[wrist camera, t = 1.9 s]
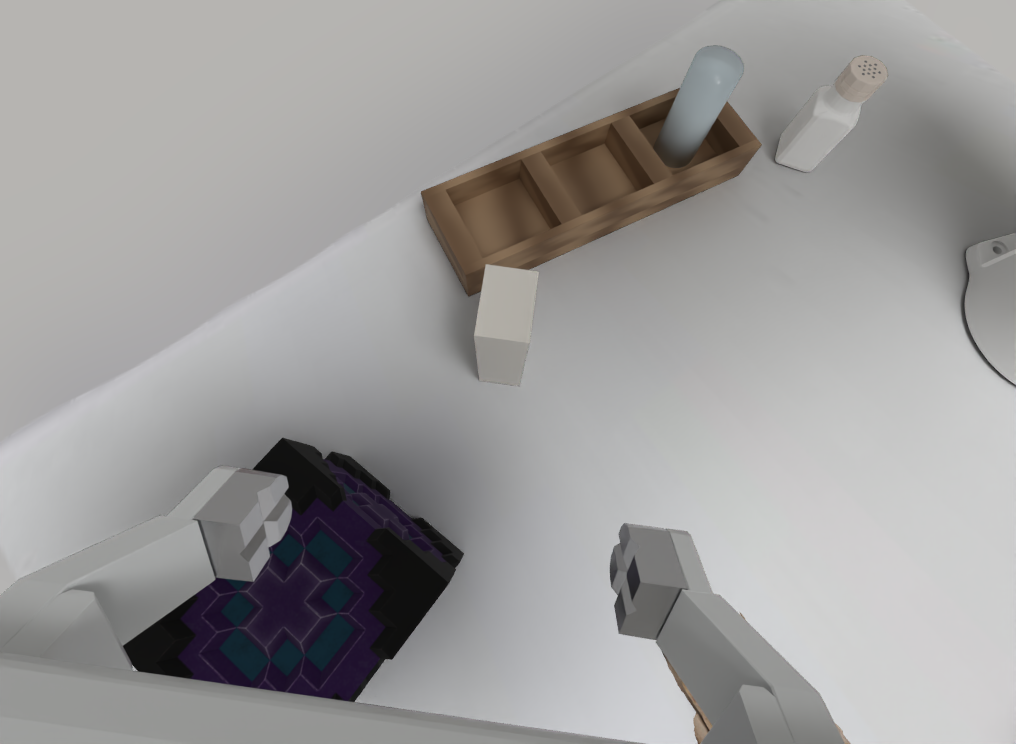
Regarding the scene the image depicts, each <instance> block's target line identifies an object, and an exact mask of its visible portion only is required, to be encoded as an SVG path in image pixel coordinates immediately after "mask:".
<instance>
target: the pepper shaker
mask: <svg viewBox="0 0 1016 744" xmlns="http://www.w3.org/2000/svg"><path fill="white" fill-rule="evenodd" d="M887 77H888V72H887V68H886V67H885V65H884V64H883V63H882V62H881V61H880V60H878V59H876V58H874V57H872V56H864V55H862V56H859V57H856V58H854V59H853V60H852V61H851V62H850V63H849V65H848V66H847V67H846V68H845V70H844V71H843V72H842V73H841V74H840V76H839V77H838V78H837V79H836V80H835V82H834V84H833V85H832V86H829V85H826V86H822V87H819V88H818V89H817V90H816V92H815V93H814V94H813V95H812V97H811V98H810V99H809V100H808V102H807V103H806V104H805V105H804V107H803V108H802V109H801V110H800V112H799V113H798V114H797V115H796V117H795V118H794V119H793V120H792V122H791V123H790V124H789V125H788V127H787V128H786V129H785V130H784V132H783V133H782V134H781V137H780V141H779V145H778V149H777V153H776V157H775V161H776V162H777V163H779V164H782V165H785V166H788V167H791V168H794V169H797V170H800V171H803V172H810V171H812V170H813V169H814V168H815V167H816V166H817V165H818V164H819V163H820V162H821V161H822V160H823V159H824V158H825V157H826V155H827V154H828V153H829V152H830V151H831V150H832V149H833V148H834V147H835V146H836V145H837V144H838V143H839V142H840V141H841V140H842V139H843V138H844V137H845V136H846V135H847V134H848V133H849V132H850V131H851V130H852V129H853V128H854V127H855V126H856V124H857V121H858V119H859V115H860V111H861V105H862V104H863V103H864V102H866V101H867V100H868V99H869V98H870V97H871V96H872V94H874V93H875V91H876V90H877V89H878V88H879V87H880V86H881V85H882V84H883V83H884V82H885V80H886V78H887Z"/></svg>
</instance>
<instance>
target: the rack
mask: <svg viewBox="0 0 1016 744" xmlns="http://www.w3.org/2000/svg"><path fill="white" fill-rule="evenodd" d="M679 90H680V88H678V89H676V90H673V91H671V92H668V93H666V94H663V95H661V96H658V97H656V98H653V99H651V100H648V101H646V102H643V103H641V104H638V105H636V106H633V107H631V108H628V109H626V110H623V111H621V112H618V113H616V114H613V115H611V116H608V117H606V118H603V119H601V120H598V121H596V122H593V123H591V124H588V125H586V126H583V127H581V128H578V129H576V130H573V131H571V132H568V133H566V134H563V135H561V136H558V137H556V138H553V139H551V140H549V141H546V142H544V143H541V144H539V145H536V146H534V147H531V148H529V149H526V150H524V151H521V152H519V153H516V154H514V155H511V156H509V157H506V158H504V159H501V160H499V161H496V162H494V163H491V164H489V165H486V166H484V167H481V168H479V169H476V170H474V171H471V172H469V173H466V174H464V175H461V176H459V177H456V178H454V179H451V180H449V181H446V182H444V183H441V184H439V185H436V186H434V187H431V188H429V189H426V190H424V191H421V195H422V199H423V203H424V208H425V212H426V216H427V220H428V222H429V224H430V226H431V227H432V229H433V231H434V233H435V235H436V237H437V239H438V241H439V242H440V244H441V246H442V248H443V250H444V252H445V254H446V256H447V257H448V259H449V261H450V263H451V265H452V267H453V269H454V271H455V272H456V274H457V276H458V278H459V280H460V282H461V284H462V286H463V287H464V289H465V291H466V293H467V295H468V297H469V296H471V295H473V294H476V293H478V292H480V291H481V290H482V284H483V278H484V272H485V266H486V264H488V265H495V266H502V267H509V268H517V269H524V270H529V269H531V268H533V267H536V266H538V265H540V264H542V263H545V262H547V261H549V260H551V259H553V258H556V257H558V256H560V255H562V254H565V253H567V252H569V251H571V250H573V249H576V248H578V247H580V246H582V245H585V244H587V243H589V242H591V241H593V240H596V239H598V238H600V237H602V236H605V235H607V234H609V233H611V232H613V231H616V230H618V229H620V228H622V227H625V226H627V225H629V224H631V223H633V222H636V221H638V220H640V219H642V218H645V217H647V216H649V215H651V214H653V213H656V212H658V211H660V210H662V209H665V208H667V207H669V206H671V205H673V204H676V203H678V202H680V201H682V200H685V199H687V198H689V197H691V196H694V195H696V194H698V193H700V192H702V191H705V190H707V189H709V188H711V187H714V186H716V185H718V184H720V183H722V182H725V181H727V180H729V179H731V178H734V177H736V176H738V175H739V174H740V173H741V171H742V170H743V169H744V167H745V166H746V165H747V164H748V162H749V161H750V160H751V158H752V157H753V156H754V154H755V153H756V152H757V150H758V149H759V148H760V147H761V145H762V144H761V143H760V142H759V141H758V139H757V138H756V137H755V136H754V134H753V133H752V132H751V131H750V129H749V128H748V127H747V126H746V124H745V123H744V122H743V121H742V119H741V118H740V117H739V116H738V114H737V113H736V112H735V111H734V109H733V108H732V107H731V106H730V104H729V103H728V102H726V103H725V105H724V107H723V108H722V110H721V112H720V113H719V115H718V117H717V119H716V120H715V122H714V124H713V125H712V127H711V129H710V130H709V132H708V134H707V135H706V137H705V139H704V141H703V142H702V144H701V146H700V147H699V149H698V151H697V152H696V154H695V156H694V157H693V159H692V161H691V162H690V163H689V164H688V165H686V166H684V167H681V168H671V167H668V166H665V164H664V163H663V162H662V160H661V159H660V157H659V156H658V155H657V153H656V152H655V150H654V144H655V142H656V140H657V138H658V135H659V133H660V131H661V129H662V127H663V124H664V122H665V120H666V118H667V116H668V114H669V111H670V109H671V107H672V105H673V103H674V100H675V98H676V96H677V94H678V92H679Z"/></svg>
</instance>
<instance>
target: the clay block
mask: <svg viewBox="0 0 1016 744" xmlns="http://www.w3.org/2000/svg"><path fill="white" fill-rule="evenodd" d="M538 276H539V272H538V271H531V270H524V269H517V268H509V267H502V266H495V265H488V264H486V266H485V272H484V278H483V284H482V290H481V296H480V302H479V308H478V314H477V320H476V326H475V331H474V341H475V349H476V358H477V366H478V374H479V381H484V382H491V383H499V384H506V385H513V386H520V382H521V378H522V374H523V370H524V365H525V361H526V357H527V353H528V348H529V344H530V337H531V330H532V322H533V314H534V307H535V299H536V291H537V283H538Z"/></svg>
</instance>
